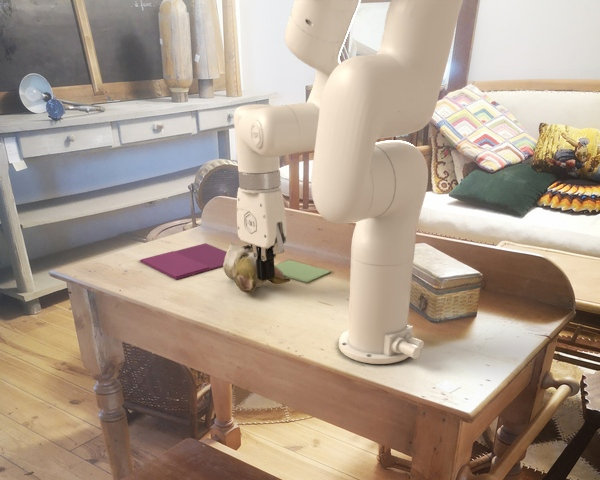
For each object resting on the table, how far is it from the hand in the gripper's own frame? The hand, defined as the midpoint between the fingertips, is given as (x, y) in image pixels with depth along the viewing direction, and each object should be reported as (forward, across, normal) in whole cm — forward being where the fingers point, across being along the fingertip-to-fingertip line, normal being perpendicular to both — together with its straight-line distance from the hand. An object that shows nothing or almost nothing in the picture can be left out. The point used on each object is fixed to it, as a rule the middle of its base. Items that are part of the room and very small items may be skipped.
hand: (266, 278), depth 117 cm
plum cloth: (+3, -28, 0) cm, 28 cm away
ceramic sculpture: (+4, -6, +1) cm, 7 cm away
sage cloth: (+3, -6, +13) cm, 15 cm away
